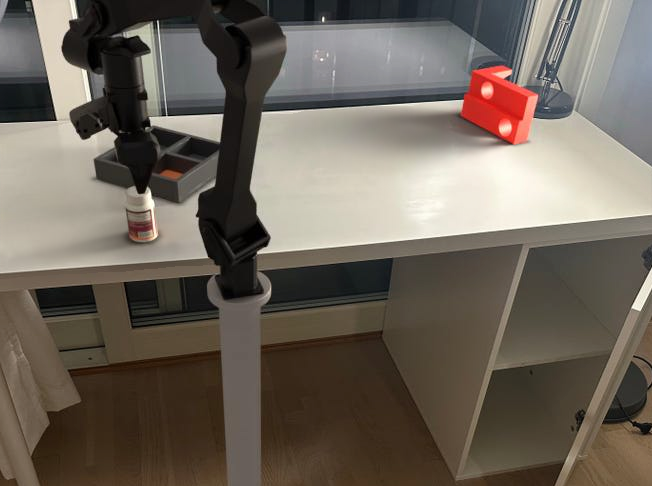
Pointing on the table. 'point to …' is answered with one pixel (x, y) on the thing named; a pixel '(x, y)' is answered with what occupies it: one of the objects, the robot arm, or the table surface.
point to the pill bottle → (140, 215)
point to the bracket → (499, 104)
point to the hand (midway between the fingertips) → (137, 180)
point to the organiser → (168, 165)
